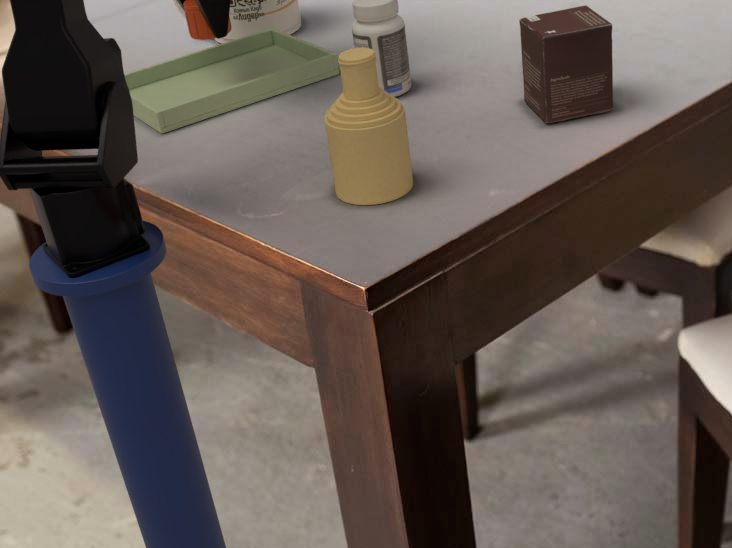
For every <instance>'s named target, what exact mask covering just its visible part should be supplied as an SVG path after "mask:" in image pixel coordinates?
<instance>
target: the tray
mask: <svg viewBox="0 0 732 548" xmlns="http://www.w3.org/2000/svg"><path fill="white" fill-rule="evenodd" d="M338 75H340V66H339V63H338V55H337V53H335V52H333V51H330V50H328V49H326V48H323V47H320V46H318V45H316V44H313V43H311V42H308V41H306V40H303V39H300V38H298V37H297V36H293V35H292V34H290V35H289V34H286V33H284V32H281V31H279V30H276V29H274V28H272V29H268V30H265V31H262V32H259V33H255V34H252V35H249V36H246V37H242V38H239V39H236V40H233V41H229V42H226V43H223V44H222V43H219V44H217V45H214V46H210V47H207V48H204V49H200V50H197V51H194V52H191V53H188V54H185V55H181V56H178V57H174V58H171V59H168V60H166V61H162V62H158V63H156V64H152V65H148V66H145V67H142V68H139V69H136V70H132V71H129V72H126V73H124V76H125V80H126V83H127V86H128V88H129V91H130V96H131V99H132V105H133V114H134V118H137V119H139V121H141V122H143V123H145V124H146V125H148V126H149V127H151V128H152V129H153V130H155V131H157V132H158V133H160V134H161V135H163V134H166V133H168V132H171V131H174V130H177V129H181V128H183V127H187V126H189V125H192V124H195V123H198V122H201V121H205V120H207V119H210V118H212V117H216V116H220V115H222V114H225V113H228V112H231V111H234V110H237V109H239V108H242V107H245V106H249V105H251V104H254V103H258V102H261V101H264V100H266V99H270V98H273V97H274V96H278V95H281V94H285V93H287V92H290V91H293V90H296V89H298V88H302V87H306V86H308V85H310V84H311V85H312V84H313V83H316V82H319V81H320V82H321V81H323V80H325V79H329V78H333V77H334V76H338Z"/></svg>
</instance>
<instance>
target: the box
mask: <svg viewBox="0 0 732 548" xmlns="http://www.w3.org/2000/svg"><path fill="white" fill-rule="evenodd" d="M518 21H519V30H520V47H521V49H520V50H521V65H522V78H523V79H522V80H523V99H524V102H525V104H527V105H528V106H529V107H530V108H531V110H533V111H534V112H535V114H537V116H539V117H540V119H541V120H543V122H544V123H545V124H552V123H557V122H563V121H567V120H572V119H576V118H583V117H585V116H590V115H591V116H592V115H596V114H602V113H607V112H610V111H613V109H614V85H613V81H614V79H613V75H614V74H613V69H614V67H613V24H612V23H611V22H610V21H609V20H607V19H606V18H605V17H603V16H602V15H600V14H599V13H597V12H596V11H594V10H593V9H592V8H590V7H589V6H588V5H580V6H576V7H575V6H574V7H570V8H565V9H561V10H555V11H550V12H545V13H539V14H533V15H529V16H525V17H522V18H519V20H518Z"/></svg>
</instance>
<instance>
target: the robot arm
mask: <svg viewBox="0 0 732 548" xmlns="http://www.w3.org/2000/svg"><path fill="white" fill-rule="evenodd" d="M177 1H178V3H179V4H180V6H181V7H182V9H183V10H184V5H183V3H184V2H185V1H186V0H177ZM195 2H196V4H197V6H198V8H199V9H200V11H201V13H202V15H203V17H204V19H205V20H206V22H207V24H208V26H209V28H210V29H211V31H212V33H213V34H214V36H215V37H216V38H217V39H220V38H223V37H226V36H227V33H228V23H229V12H230V2H231V0H195ZM9 4H10V8H11V9H10V10H11V13H12V16H13V22H14V33H13V35H12V38H11V41H10V44H9V47H8V50H7V52H6V56H5V59H4V61H3V64H2V67H1V79H2V85H3V92H4V109H3V115H2V123H1V131H0V179H1V180H2V182H3V184H4V185H5V187H6V189H7V190H8V191H10V192H11V191H18V190H28V191H29V194H30V196H31V199H32V202H33V205H34V208H35V211H36V214H37V218H38V220H39V224H40V226H41V230H42V232H43V236H44V239H45V242H47V243H46V244H44V243H43V244H44V245H43V244H42V245H43V249H44V252H45V253H46V254H47V255H48V256H49V257H50V258H51V260H52V261H53V262H54V263H55V264H56V265H57V266H58V267H59V268H60V269H61V270H62V271H63V272H64V273H65V274H66V275H67V276H68V277H69V278H77V277H79V276H82V275H85V274H87V273H90V272H93V271H95V270H98V269H100V268H103V267H106V266H108V265H111V264H114V263H116V262H119V261H121V260H124V259H127V258H129V257H132V256H135V255H137V254H140V253H143V252H145V251H147V250H149V249H150V246H149V242H148V241H147V240H145V239H144V238H143V237H142V236H141V235H142V234H144V232H145V228H144V224H143V221H144V220H143V216H142V213H141V210H140V205H139V203H138V202H139V201H138V198H137V195H136V191H135V187H134V185H133V184H132V183H131V182H130V181H128V180H127V179H126V177H127V175H128V174H129V173H130V172H131V171H132V169H134V167H135V166H136V165H137V164H138V163H139V157H138V146H137V137H136V135H137V134H136V124H135V116H134V114H133V105H132V99H131V96H130V91H129V88H128V86H127V83H126V80H125V76H124V74H125V72H124V66H123V65H124V63H123V55H122V54H123V53H122V49H121V47H120V46H119V44H118V43H117V42H118V41H116V39H115V38H113V37H103V36H102V35H101V34H100V32H99V31H98V30H97V28H95V26H94V25H93V24H92V22H91V21H90V20H89V19H88V15H87V11H86V7H85V1H84V0H9ZM184 12H185V11H184ZM72 150H74V151H75V150H97V154H83V155H55V156H54V155H46V156H44V155H43V151H44V152H45V151H46V152H47V151H72Z"/></svg>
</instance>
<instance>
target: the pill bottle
mask: <svg viewBox="0 0 732 548" xmlns="http://www.w3.org/2000/svg"><path fill="white" fill-rule="evenodd" d="M399 8H400V7H399V2H398V0H352V12H353V17H354V18H353V19H355V21H354V22H353V24H352V27H351V34H352V40H353V46H354V48H370V49H372V50H374V51H375V52H376V56H375V57H376V60H377V61H376V69H377V77H378V85H379V87H380V88H382V89H383V90H384V91H386V92H388V93H389V94H390V95H392V96H394V97H395V98H397V97H399V96H402V95H404V94H406V93H407V92H408V91H409V90H411V88H412V78H411V70H410V60H409V52H408V45H407V44H408V42H407V34H406V25H405V21H404V18H403V17H402V16H400V15H399V12H400V11H399V10H400V9H399ZM354 48H353V49H354Z"/></svg>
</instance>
